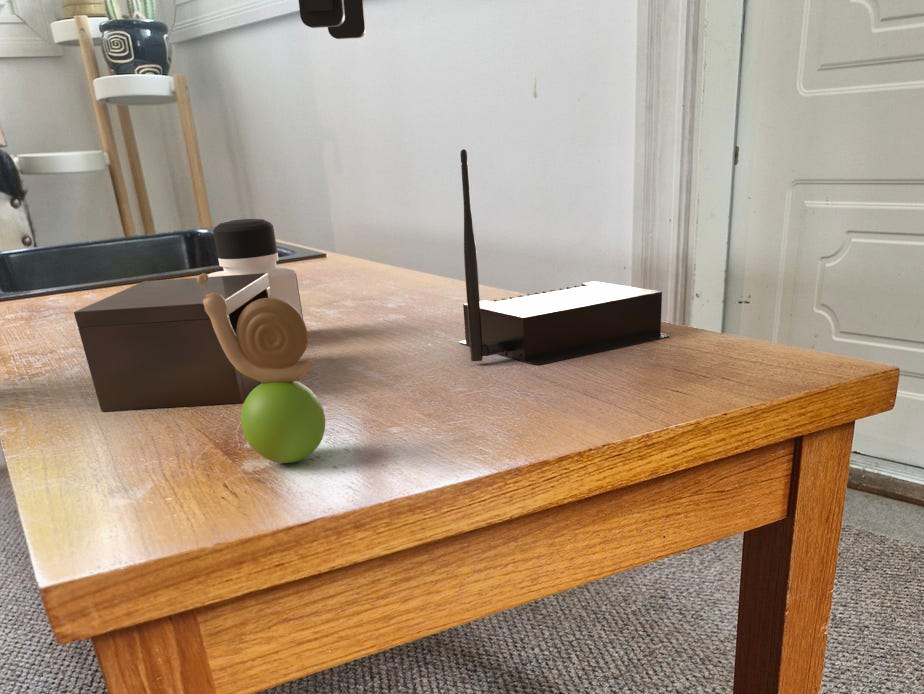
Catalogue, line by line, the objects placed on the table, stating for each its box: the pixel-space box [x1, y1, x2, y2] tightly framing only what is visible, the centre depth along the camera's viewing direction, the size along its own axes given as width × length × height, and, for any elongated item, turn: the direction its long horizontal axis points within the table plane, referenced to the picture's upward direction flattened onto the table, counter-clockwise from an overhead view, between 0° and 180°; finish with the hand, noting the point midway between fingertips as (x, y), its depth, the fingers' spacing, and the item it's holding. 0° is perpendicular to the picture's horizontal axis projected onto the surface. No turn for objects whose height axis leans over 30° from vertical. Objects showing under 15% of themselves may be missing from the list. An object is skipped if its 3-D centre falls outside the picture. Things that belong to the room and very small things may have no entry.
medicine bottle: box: [207, 218, 304, 319], centre depth 93 cm, size 7×7×12 cm
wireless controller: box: [459, 148, 671, 366], centre depth 83 cm, size 20×14×17 cm
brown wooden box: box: [73, 273, 272, 412], centre depth 80 cm, size 12×16×8 cm
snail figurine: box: [196, 272, 326, 464], centre depth 57 cm, size 5×6×12 cm
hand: (336, 32), depth 50 cm, fingers open, 8 cm apart
